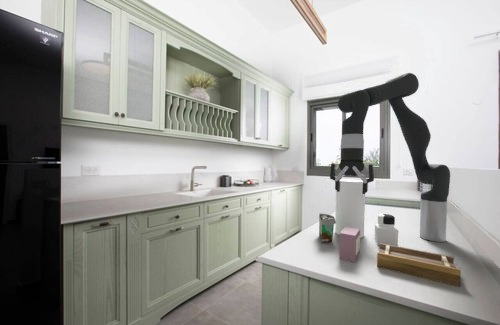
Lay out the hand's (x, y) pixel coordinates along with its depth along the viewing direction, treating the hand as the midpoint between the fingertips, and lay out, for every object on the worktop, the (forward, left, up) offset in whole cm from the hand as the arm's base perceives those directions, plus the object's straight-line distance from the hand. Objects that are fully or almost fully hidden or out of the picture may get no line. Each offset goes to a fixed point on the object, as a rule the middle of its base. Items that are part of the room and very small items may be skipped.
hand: (350, 192), depth 82 cm
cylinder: (-27, -5, -23) cm, 36 cm away
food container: (-12, -11, -23) cm, 28 cm away
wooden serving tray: (-1, +19, -23) cm, 30 cm away
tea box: (0, 0, -23) cm, 23 cm away
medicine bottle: (-22, +10, -23) cm, 33 cm away
